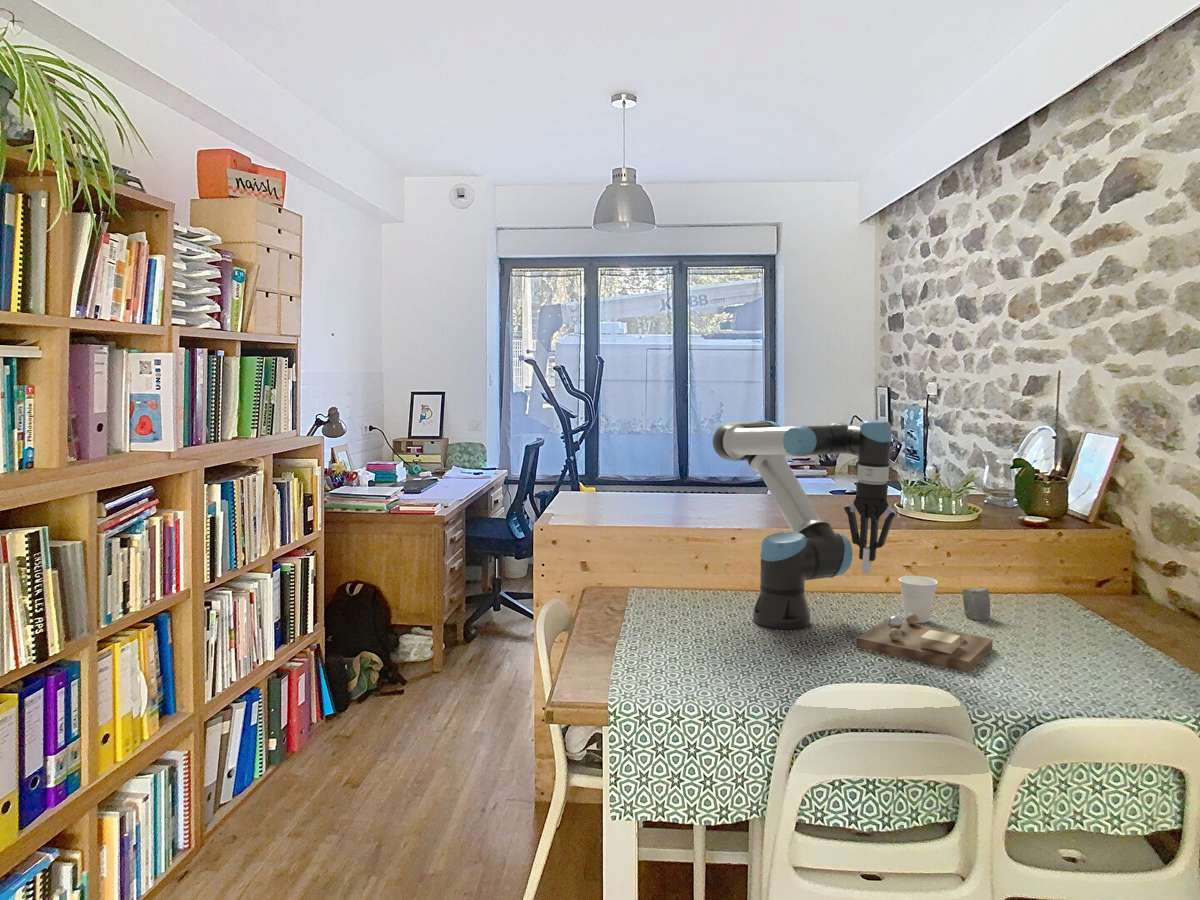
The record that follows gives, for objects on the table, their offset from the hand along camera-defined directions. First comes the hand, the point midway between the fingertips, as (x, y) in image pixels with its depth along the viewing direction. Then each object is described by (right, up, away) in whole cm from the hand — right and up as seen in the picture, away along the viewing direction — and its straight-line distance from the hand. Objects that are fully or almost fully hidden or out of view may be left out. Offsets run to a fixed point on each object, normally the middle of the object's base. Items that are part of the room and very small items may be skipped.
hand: (866, 572), depth 214 cm
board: (+11, -17, -10) cm, 23 cm away
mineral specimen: (+35, -15, +16) cm, 41 cm away
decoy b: (+12, -12, 0) cm, 17 cm away
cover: (+12, -15, -18) cm, 26 cm away
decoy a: (+3, -13, -12) cm, 18 cm away
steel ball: (+6, -12, -4) cm, 14 cm away
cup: (+18, -15, +12) cm, 26 cm away
